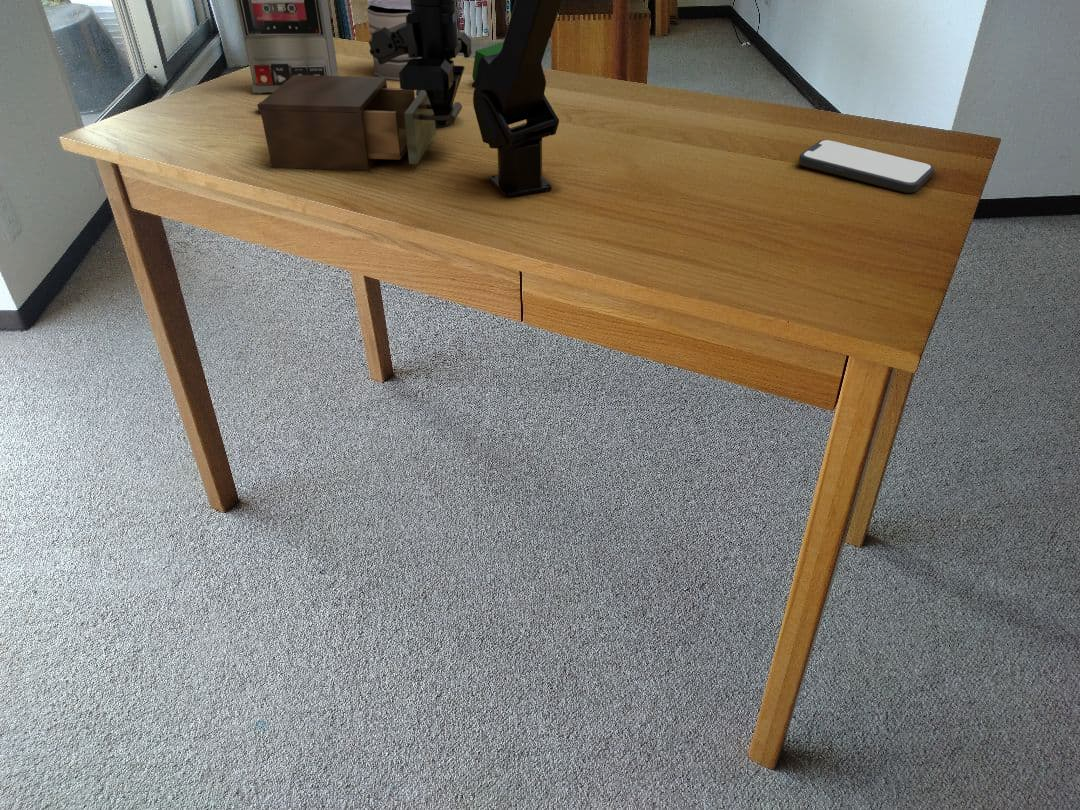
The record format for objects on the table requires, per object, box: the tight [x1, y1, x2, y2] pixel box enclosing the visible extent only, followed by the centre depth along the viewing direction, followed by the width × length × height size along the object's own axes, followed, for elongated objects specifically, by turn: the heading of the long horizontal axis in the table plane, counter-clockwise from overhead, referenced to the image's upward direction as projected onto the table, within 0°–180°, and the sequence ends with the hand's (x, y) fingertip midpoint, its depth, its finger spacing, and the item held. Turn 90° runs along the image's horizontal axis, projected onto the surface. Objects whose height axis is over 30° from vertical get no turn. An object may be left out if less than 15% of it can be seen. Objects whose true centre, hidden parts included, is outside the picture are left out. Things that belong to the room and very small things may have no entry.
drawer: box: [362, 87, 463, 165], centre depth 115 cm, size 17×12×7 cm
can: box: [366, 0, 422, 82], centre depth 147 cm, size 11×11×12 cm
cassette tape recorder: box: [235, 0, 341, 95], centre depth 135 cm, size 14×6×25 cm, turn 92°
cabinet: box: [258, 75, 388, 172], centre depth 116 cm, size 14×14×9 cm
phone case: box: [798, 139, 935, 194], centre depth 111 cm, size 9×2×16 cm
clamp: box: [472, 41, 504, 81], centre depth 144 cm, size 12×6×9 cm, turn 136°
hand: (442, 125), depth 114 cm, fingers closed, pressing on drawer
